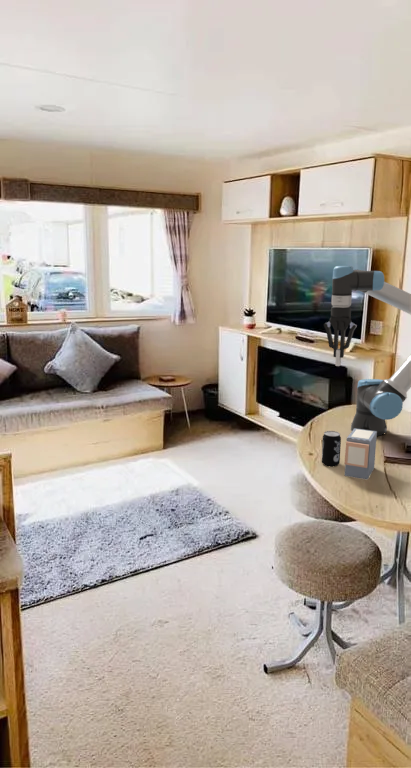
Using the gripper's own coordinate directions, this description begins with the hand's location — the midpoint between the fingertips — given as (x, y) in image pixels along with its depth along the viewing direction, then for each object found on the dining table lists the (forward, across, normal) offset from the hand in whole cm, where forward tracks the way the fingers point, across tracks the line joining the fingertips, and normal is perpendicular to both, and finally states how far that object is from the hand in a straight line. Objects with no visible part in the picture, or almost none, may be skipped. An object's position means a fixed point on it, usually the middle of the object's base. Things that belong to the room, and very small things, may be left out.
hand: (338, 365), depth 223 cm
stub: (+23, +16, -34) cm, 45 cm away
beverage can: (+33, +5, -25) cm, 41 cm away
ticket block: (+32, +16, -28) cm, 46 cm away
